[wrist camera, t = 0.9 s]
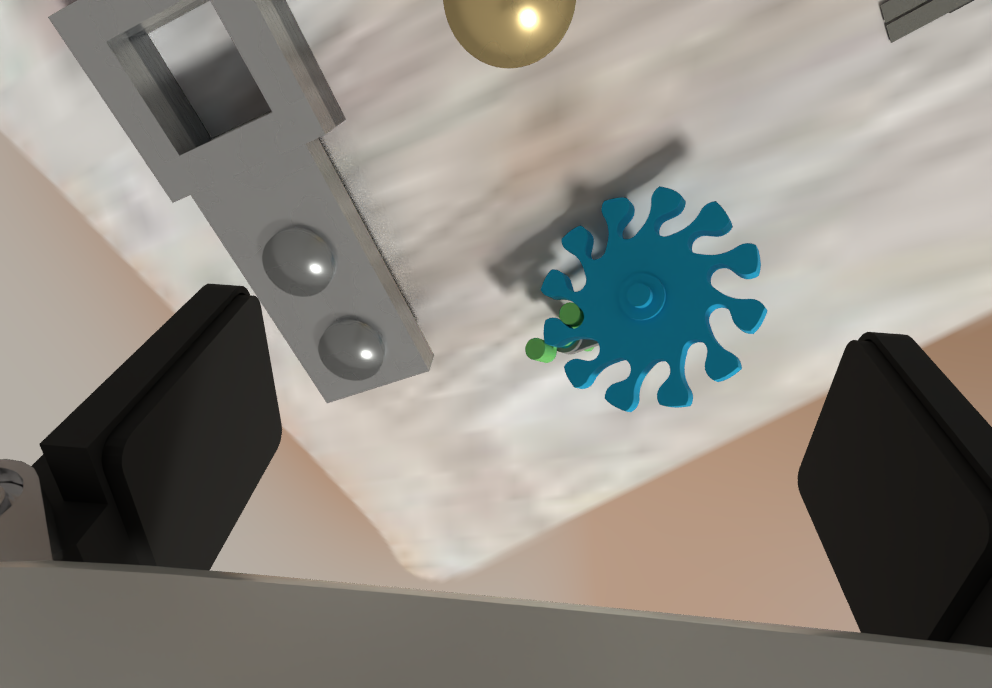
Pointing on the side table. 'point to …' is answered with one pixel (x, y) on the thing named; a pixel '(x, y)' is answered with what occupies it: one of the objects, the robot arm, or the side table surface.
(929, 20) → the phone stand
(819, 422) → the robot arm
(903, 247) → the side table surface
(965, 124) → the side table surface
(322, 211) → the gray studded rail
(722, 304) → the gear
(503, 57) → the pin
